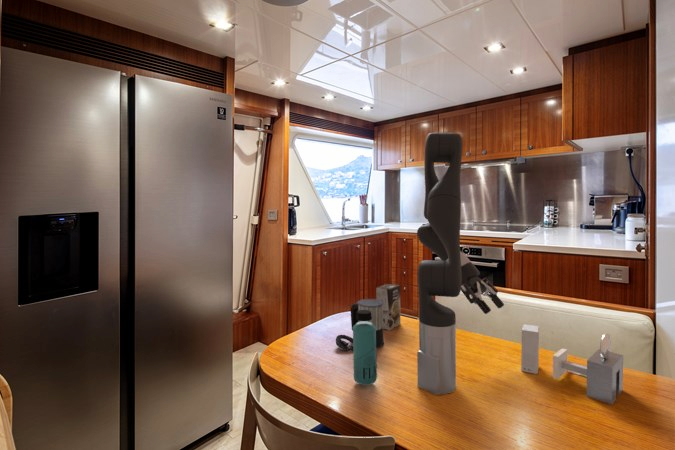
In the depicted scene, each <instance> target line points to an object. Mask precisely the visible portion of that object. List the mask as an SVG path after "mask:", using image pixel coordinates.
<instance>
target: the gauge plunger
mask: <svg viewBox="0 0 675 450" xmlns="http://www.w3.org/2000/svg"><path fill="white" fill-rule="evenodd" d="M568 370H570V371H574V372H577V373H580V374H584V375H587V365H582V364H578V363H575V362H571V361H568V349H567V348H561V349H559V350H558V351H556V352H555V353H554V354H553V355H552V378H554V379H555V380H559V379H560V378H561V377H562V376H563V375H564V374H565V373H568V372H567V371H568Z"/></svg>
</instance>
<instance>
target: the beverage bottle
mask: <svg viewBox="0 0 675 450" xmlns="http://www.w3.org/2000/svg"><path fill="white" fill-rule="evenodd" d="M356 319H357V320H359V321H361V322H358V323H356V324H355V325H354V326H353V331H352V338H353V354H352V355H353V356H352V358H353V359H352V360H353V362H352V364H353V381H354V382H355V383H357V384H359V385H363V386H365V385H366V386H369V385H372V384H375V383H376V381H377V379H378V370H377V369H378V364H377V359H378V358H377V357H378V356H377V348H376V346H377V345H376V343H377V341H376V327H375V326H374V325H373V324H372V323H371V322H367V321H369V320H371V319H372V316H371V311H369V310H359V311H357V316H356Z"/></svg>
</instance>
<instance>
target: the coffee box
mask: <svg viewBox="0 0 675 450" xmlns="http://www.w3.org/2000/svg"><path fill="white" fill-rule="evenodd" d="M375 296H376V298H375V299H377V300H381V301H383V302H384V304H383V330H386V329H387V331H391V330H393V329H395V328H396V327H398V326H400V325H401V285H399V284H393V283H390V284H389V283H386V284H384V285H380V286H377V287H376V293H375ZM399 324H400V325H399ZM394 327H395V328H394Z"/></svg>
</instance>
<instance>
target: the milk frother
mask: <svg viewBox="0 0 675 450" xmlns="http://www.w3.org/2000/svg"><path fill="white" fill-rule="evenodd" d="M383 304H384V302H383V301H381V300H377V299H376V298H375V299H374V298H364V299H360V300H358V301H357V302H354V303H352V304H351V307H350V322H351V323H350V325H351V330H352V332H353V326H354V325H355V324H356V323H358V322H361V321H359V320H357V319H356V316H357V311H359V310H369V311H371V316H372V319H371V320H369V321H367V322H371V323H372V324H373V325H374V326H375V327H376V341H377V343H376V345H377V346H376V349H379V348H381V347H383V346H384V345H385V342H384V329H383ZM345 340H347V341H349V342H347V341H345ZM349 343H351V346H349ZM335 344H336V346H337V347H338V348H339V349H340V350H342V351H347V352H348V351H352V350H353V337H351V336H349V335H345V334H338V335H337V336H336V338H335Z"/></svg>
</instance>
